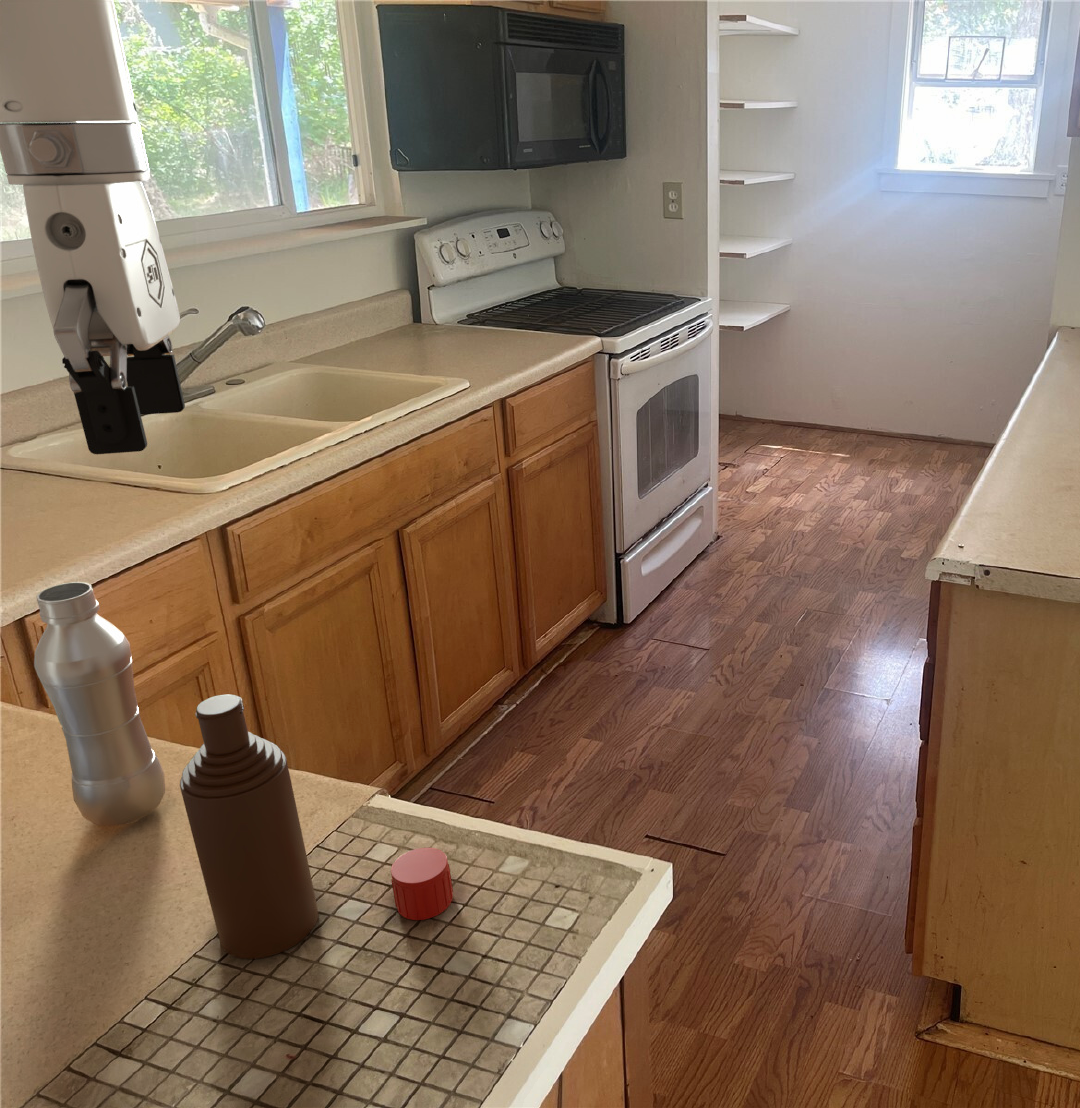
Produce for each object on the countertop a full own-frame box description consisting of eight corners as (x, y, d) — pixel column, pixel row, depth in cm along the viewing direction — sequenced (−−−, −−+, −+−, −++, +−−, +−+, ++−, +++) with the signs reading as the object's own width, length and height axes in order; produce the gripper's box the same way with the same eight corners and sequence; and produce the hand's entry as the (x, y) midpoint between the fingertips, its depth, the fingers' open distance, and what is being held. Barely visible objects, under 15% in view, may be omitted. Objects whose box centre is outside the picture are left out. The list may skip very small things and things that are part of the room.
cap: (462, 886, 77) (457, 850, 75) (438, 924, 73) (432, 886, 72) (412, 880, 77) (406, 844, 76) (386, 917, 74) (380, 880, 72)
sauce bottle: (267, 971, 69) (211, 740, 62) (199, 942, 72) (138, 718, 65) (338, 909, 74) (294, 691, 68) (272, 884, 77) (224, 671, 70)
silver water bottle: (141, 780, 89) (82, 567, 82) (189, 804, 86) (132, 585, 78) (64, 820, 84) (-6, 598, 77) (112, 847, 81) (43, 618, 73)
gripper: (99, 160, 56) (169, 464, 62) (179, 152, 71) (228, 396, 78) (-60, 162, 54) (30, 475, 61) (57, 154, 70) (118, 403, 76)
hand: (141, 430), depth 69 cm, fingers open, 9 cm apart
